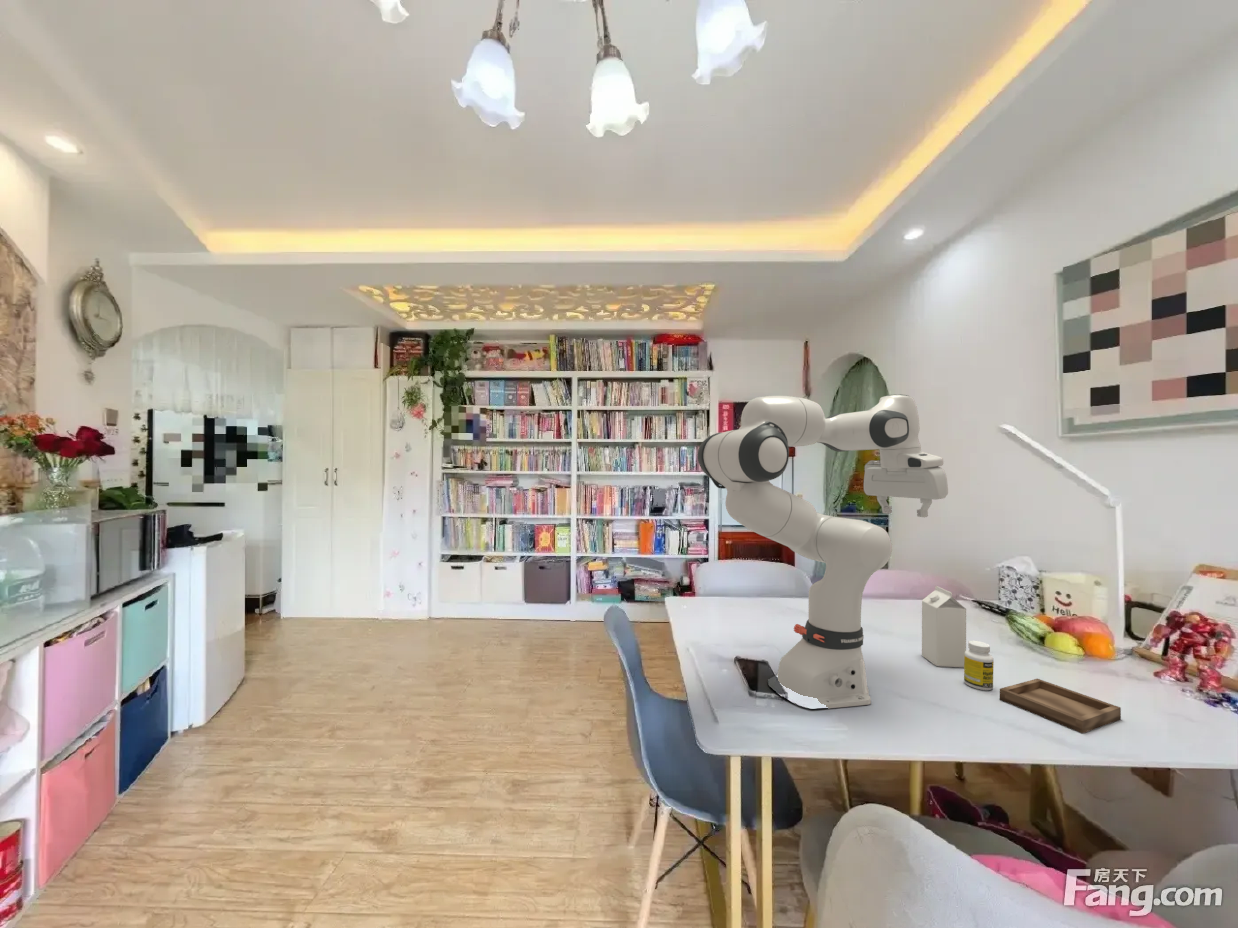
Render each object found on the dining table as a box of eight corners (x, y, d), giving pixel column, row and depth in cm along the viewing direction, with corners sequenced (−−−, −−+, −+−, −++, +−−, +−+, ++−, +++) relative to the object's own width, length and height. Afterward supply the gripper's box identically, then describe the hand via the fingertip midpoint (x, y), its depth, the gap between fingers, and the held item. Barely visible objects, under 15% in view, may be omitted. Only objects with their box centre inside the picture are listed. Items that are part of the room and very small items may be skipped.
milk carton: (949, 657, 126) (949, 586, 126) (966, 668, 119) (966, 593, 119) (921, 655, 126) (921, 585, 126) (936, 666, 119) (936, 592, 119)
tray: (1082, 733, 89) (1082, 720, 89) (999, 699, 102) (999, 688, 102) (1120, 719, 95) (1120, 707, 95) (1037, 688, 108) (1037, 678, 108)
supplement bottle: (985, 693, 105) (986, 649, 106) (959, 683, 110) (959, 641, 110) (998, 688, 108) (998, 645, 108) (971, 678, 113) (971, 637, 113)
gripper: (856, 461, 125) (859, 512, 126) (932, 460, 106) (936, 521, 107) (873, 459, 128) (876, 509, 128) (950, 458, 109) (954, 517, 109)
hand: (904, 515), depth 117 cm, fingers open, 8 cm apart
